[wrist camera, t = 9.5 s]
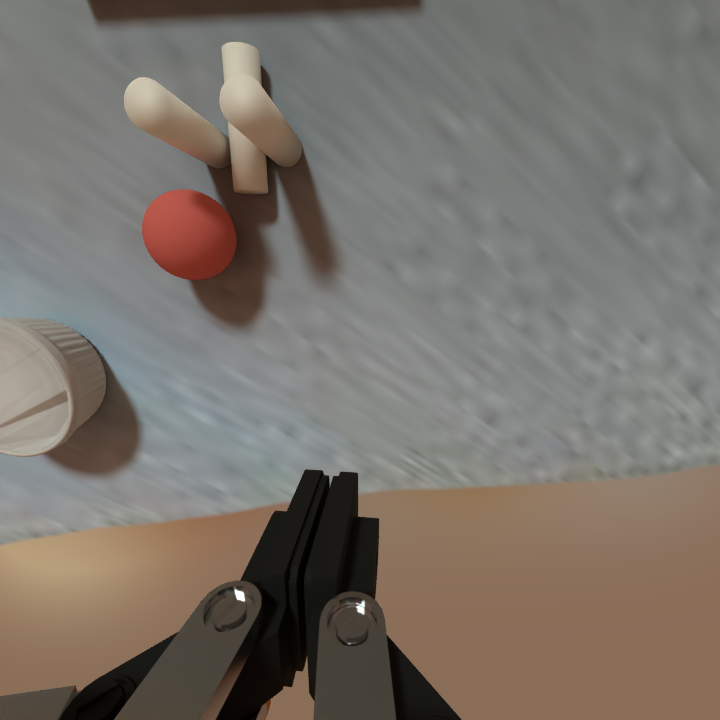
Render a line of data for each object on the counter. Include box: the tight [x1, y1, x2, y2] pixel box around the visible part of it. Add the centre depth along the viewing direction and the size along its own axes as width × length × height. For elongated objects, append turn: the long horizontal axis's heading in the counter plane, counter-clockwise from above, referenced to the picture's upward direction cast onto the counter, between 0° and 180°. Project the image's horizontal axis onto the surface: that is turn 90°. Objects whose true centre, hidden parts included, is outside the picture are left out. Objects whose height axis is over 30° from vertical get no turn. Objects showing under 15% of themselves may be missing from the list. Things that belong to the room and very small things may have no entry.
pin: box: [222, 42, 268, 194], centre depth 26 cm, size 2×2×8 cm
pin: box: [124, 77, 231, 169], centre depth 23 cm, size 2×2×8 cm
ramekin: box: [0, 317, 106, 457], centre depth 30 cm, size 11×11×5 cm
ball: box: [142, 190, 237, 280], centre depth 26 cm, size 6×6×6 cm
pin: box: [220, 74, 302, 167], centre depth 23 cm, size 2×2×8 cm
